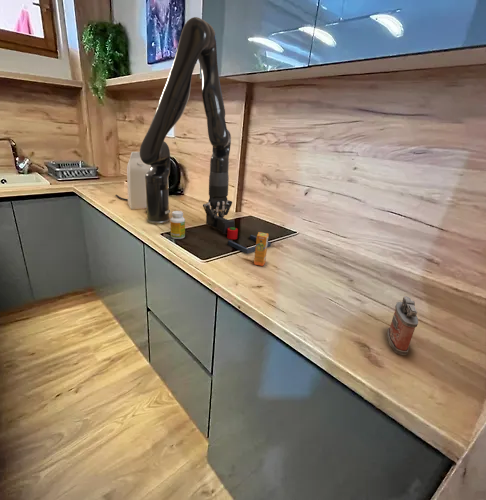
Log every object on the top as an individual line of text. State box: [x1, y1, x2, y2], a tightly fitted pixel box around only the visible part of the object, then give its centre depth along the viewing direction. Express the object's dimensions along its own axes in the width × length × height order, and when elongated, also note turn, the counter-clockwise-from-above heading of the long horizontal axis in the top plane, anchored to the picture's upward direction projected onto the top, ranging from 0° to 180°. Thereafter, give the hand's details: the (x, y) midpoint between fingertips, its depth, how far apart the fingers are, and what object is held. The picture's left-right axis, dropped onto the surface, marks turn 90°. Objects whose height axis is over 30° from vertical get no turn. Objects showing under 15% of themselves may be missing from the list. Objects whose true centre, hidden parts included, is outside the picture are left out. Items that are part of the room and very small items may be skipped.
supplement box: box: [253, 231, 270, 267], centre depth 94 cm, size 3×3×10 cm
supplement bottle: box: [169, 210, 186, 240], centre depth 113 cm, size 5×5×10 cm
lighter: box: [386, 295, 419, 356], centre depth 62 cm, size 8×3×10 cm, turn 163°
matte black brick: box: [205, 213, 236, 235], centre depth 122 cm, size 14×5×4 cm, turn 39°
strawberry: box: [226, 226, 239, 241], centre depth 116 cm, size 4×4×4 cm
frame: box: [227, 234, 272, 255], centre depth 110 cm, size 10×12×2 cm
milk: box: [126, 151, 151, 210], centre depth 149 cm, size 12×12×26 cm
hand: (217, 226), depth 123 cm, fingers closed on matte black brick, 2 cm apart
